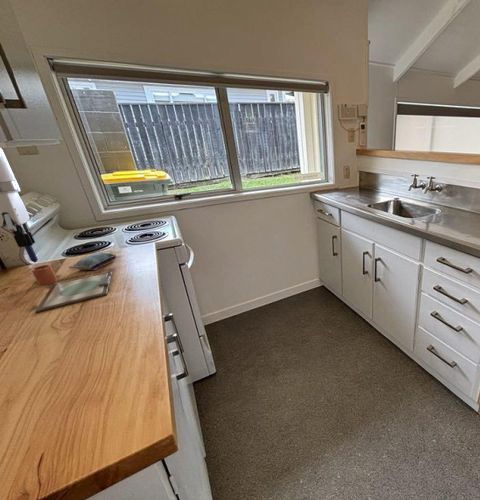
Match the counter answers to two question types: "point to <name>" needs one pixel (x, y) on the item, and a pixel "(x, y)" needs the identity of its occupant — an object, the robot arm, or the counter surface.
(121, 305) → the counter surface
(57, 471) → the counter surface
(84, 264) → the packaged food
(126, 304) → the counter surface
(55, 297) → the clipboard
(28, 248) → the pen
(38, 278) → the pen cup
